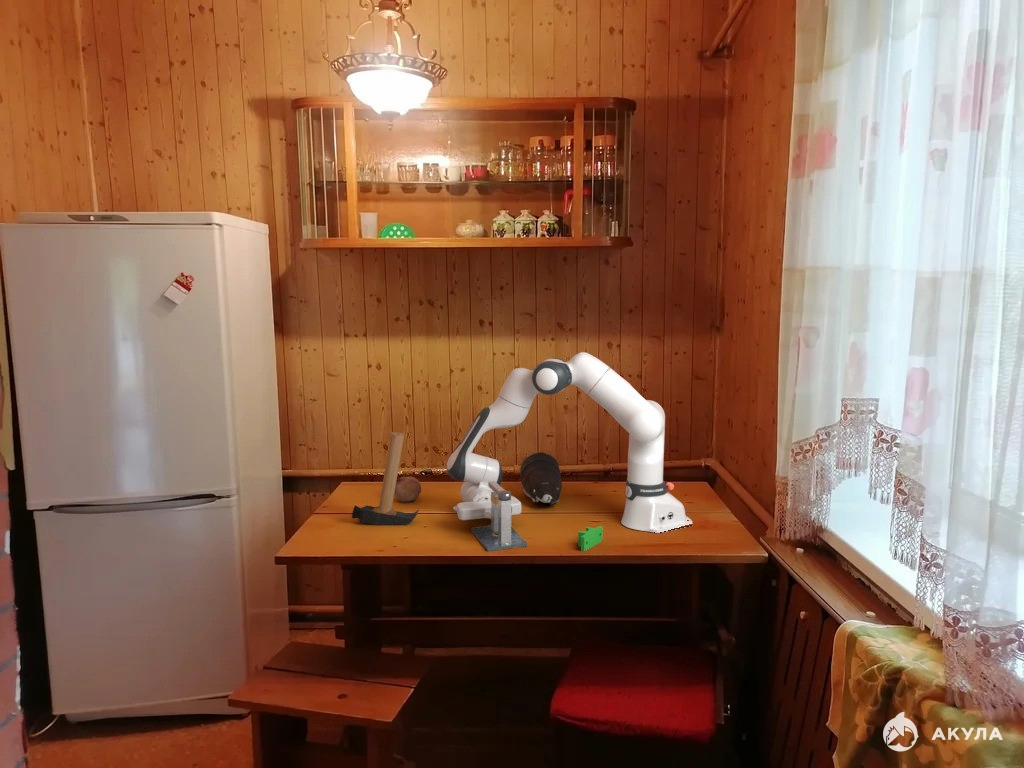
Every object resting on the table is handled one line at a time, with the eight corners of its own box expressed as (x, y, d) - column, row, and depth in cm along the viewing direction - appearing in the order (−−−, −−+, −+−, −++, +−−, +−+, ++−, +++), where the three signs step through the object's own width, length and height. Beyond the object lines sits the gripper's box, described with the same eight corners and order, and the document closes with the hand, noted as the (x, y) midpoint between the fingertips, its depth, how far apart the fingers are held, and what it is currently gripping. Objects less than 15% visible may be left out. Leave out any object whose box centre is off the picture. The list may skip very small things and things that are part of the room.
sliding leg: (500, 530, 214) (500, 490, 212) (504, 534, 211) (504, 493, 209) (490, 532, 213) (490, 491, 211) (494, 535, 210) (493, 494, 208)
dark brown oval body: (528, 479, 232) (522, 448, 256) (521, 520, 237) (515, 486, 261) (572, 484, 234) (562, 453, 258) (564, 524, 239) (555, 490, 262)
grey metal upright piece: (497, 527, 218) (497, 480, 216) (512, 543, 205) (512, 493, 202) (486, 528, 217) (485, 481, 215) (500, 544, 203) (500, 494, 201)
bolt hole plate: (508, 526, 222) (508, 523, 222) (527, 546, 205) (527, 542, 205) (471, 530, 218) (471, 527, 218) (488, 551, 201) (487, 547, 201)
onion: (398, 511, 247) (385, 488, 243) (405, 496, 255) (392, 474, 252) (422, 503, 244) (409, 480, 241) (428, 489, 253) (416, 466, 249)
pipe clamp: (591, 538, 212) (591, 524, 212) (602, 541, 210) (602, 526, 209) (572, 549, 203) (573, 534, 202) (584, 552, 201) (584, 536, 200)
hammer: (415, 527, 228) (431, 437, 224) (413, 532, 223) (429, 441, 219) (354, 515, 228) (369, 426, 224) (351, 520, 223) (366, 429, 219)
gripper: (451, 497, 222) (462, 510, 209) (512, 491, 229) (527, 503, 216) (451, 516, 223) (462, 530, 210) (512, 509, 230) (527, 523, 217)
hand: (496, 516), depth 213 cm, fingers closed, pressing on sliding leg
